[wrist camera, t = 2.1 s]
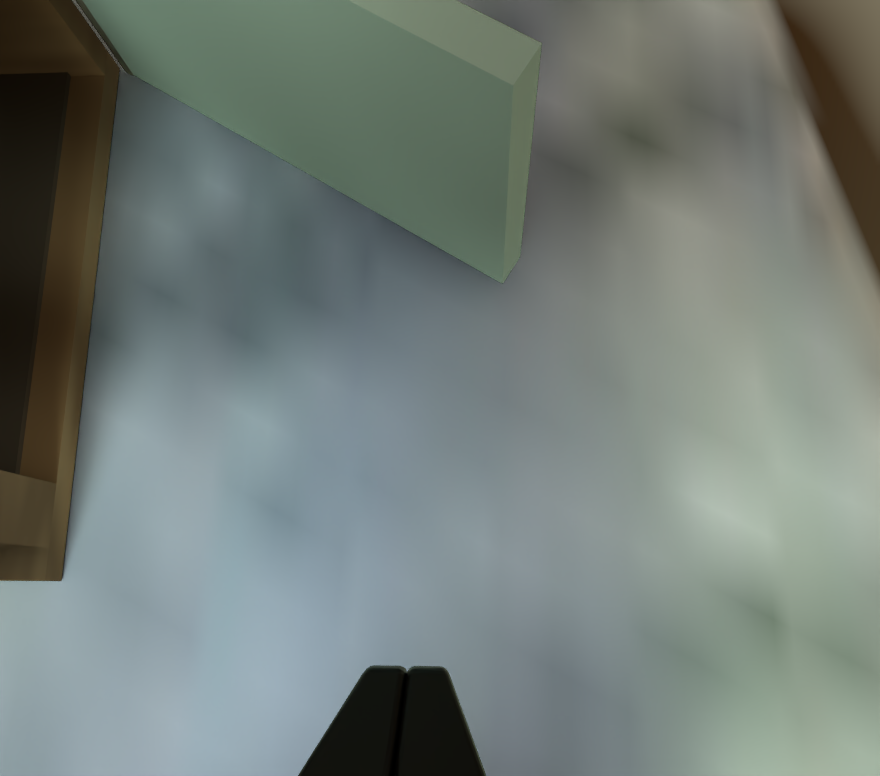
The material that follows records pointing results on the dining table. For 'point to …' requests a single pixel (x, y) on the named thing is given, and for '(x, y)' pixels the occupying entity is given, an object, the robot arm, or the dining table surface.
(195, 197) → the dining table surface
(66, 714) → the dining table surface
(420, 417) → the dining table surface
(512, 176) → the door
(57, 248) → the walnut box
